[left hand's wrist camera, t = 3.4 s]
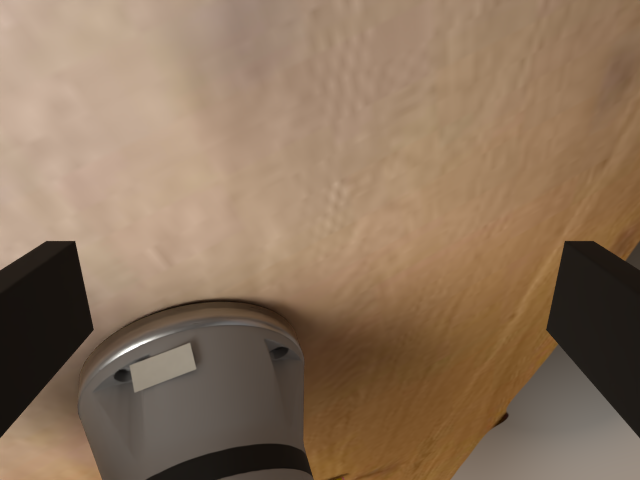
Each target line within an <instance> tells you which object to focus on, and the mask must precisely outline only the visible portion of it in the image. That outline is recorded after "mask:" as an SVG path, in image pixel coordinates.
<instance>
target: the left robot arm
mask: <svg viewBox="0 0 640 480" xmlns="http://www.w3.org/2000/svg"><path fill="white" fill-rule="evenodd" d="M93 330H94V329H93V324H92V319H91V315H90V310H89V305H88V300H87V295H86V291H85V286H84V281H83V276H82V272H81V267H80V262H79V257H78V253H77V248H76V243H75V241H46V242H44V243H43V244H41V245H40V246H38V247H37V248H35V249H33V250H32V251H30V252H29V253H27V254H25V255H24V256H22V257H21V258H19V259H18V260H16V261H14V262H13V263H11V264H10V265H8V266H6V267H5V268H3V269H2V270H0V438H1V436H2V435H3V434H4V433H5V432H6V431H7V430H8V428H9V427H10V426H11V425H12V424H13V423H14V421H15V420H16V419H17V418H18V417H19V416H20V415H21V413H22V412H23V411H24V410H25V409H26V408H27V406H28V405H29V404H30V403H31V402H32V401H33V399H34V398H35V397H36V396H37V395H38V394H39V393H40V391H41V390H42V389H43V388H44V387H45V386H46V384H47V383H48V382H49V381H50V380H51V379H52V378H53V376H54V375H55V374H56V373H57V372H58V371H59V369H60V368H61V367H62V366H63V365H64V364H65V362H66V361H67V360H68V359H69V358H70V357H71V356H72V354H73V353H74V352H75V351H76V350H77V349H78V347H79V346H80V345H81V344H82V343H83V342H84V340H85V339H86V338H87V337H88V336H89V335H90V334H91V332H92V331H93ZM546 330H547V331H548V332H549V334H550V335H551V336H552V337H553V338H554V339H555V340H556V342H557V343H558V344H559V345H560V346H561V347H562V349H563V350H564V351H565V352H566V353H567V354H568V356H569V357H570V358H571V359H572V360H573V361H574V362H575V364H576V365H577V366H578V367H579V368H580V369H581V371H582V372H583V373H584V374H585V375H586V376H587V378H588V379H589V380H590V381H591V382H592V383H593V384H594V386H595V387H596V388H597V389H598V390H599V391H600V392H601V394H602V395H603V396H604V397H605V398H606V399H607V401H608V402H609V403H610V404H611V405H612V406H613V408H614V409H615V410H616V411H617V412H618V413H619V415H620V416H621V417H622V418H623V419H624V420H625V421H626V423H627V424H628V425H629V426H630V427H631V428H632V430H633V431H634V432H635V433H636V434H637V435H638V436H639V438H640V270H638V269H637V268H635V267H633V266H632V265H630V264H629V263H627V262H626V261H624V260H622V259H621V258H619V257H618V256H616V255H615V254H613V253H611V252H610V251H608V250H607V249H605V248H604V247H602V246H600V245H599V244H597V243H596V242H594V241H565V243H564V248H563V253H562V257H561V262H560V267H559V272H558V276H557V281H556V286H555V291H554V295H553V300H552V305H551V310H550V315H549V319H548V324H547V329H546ZM78 414H79V417H80V419H81V422H82V424H83V427H84V430H85V433H86V436H87V438H88V441H89V444H90V447H91V450H92V452H93V455H94V458H95V461H96V463H97V466H98V469H99V472H100V475H101V477H102V480H314V479H313V476H312V473H311V469H310V466H309V462H308V459H307V456H306V452H305V448H304V442H303V414H304V356H303V353H302V350H301V347H300V344H299V341H298V338H297V335H296V333H295V331H294V329H293V327H292V326H291V324H290V323H289V322H288V321H287V320H286V319H284V318H283V317H282V316H280V315H279V314H277V313H275V312H273V311H271V310H269V309H266V308H263V307H260V306H256V305H252V304H246V303H239V302H206V303H198V304H191V305H185V306H180V307H176V308H172V309H168V310H165V311H161V312H158V313H155V314H152V315H150V316H147V317H145V318H142V319H140V320H138V321H136V322H133V323H131V324H130V325H128V326H126V327H124V328H122V329H121V330H119V331H117V332H116V333H114V334H113V335H111V336H110V337H109V338H107V339H106V340H105V341H103V342H102V343H101V344H100V345H99V346H98V347H97V348H96V349H95V350H94V351H93V352H92V353H91V355H90V356H89V357H88V359H87V360H86V362H85V364H84V366H83V368H82V370H81V373H80V378H79V392H78Z"/></svg>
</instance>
